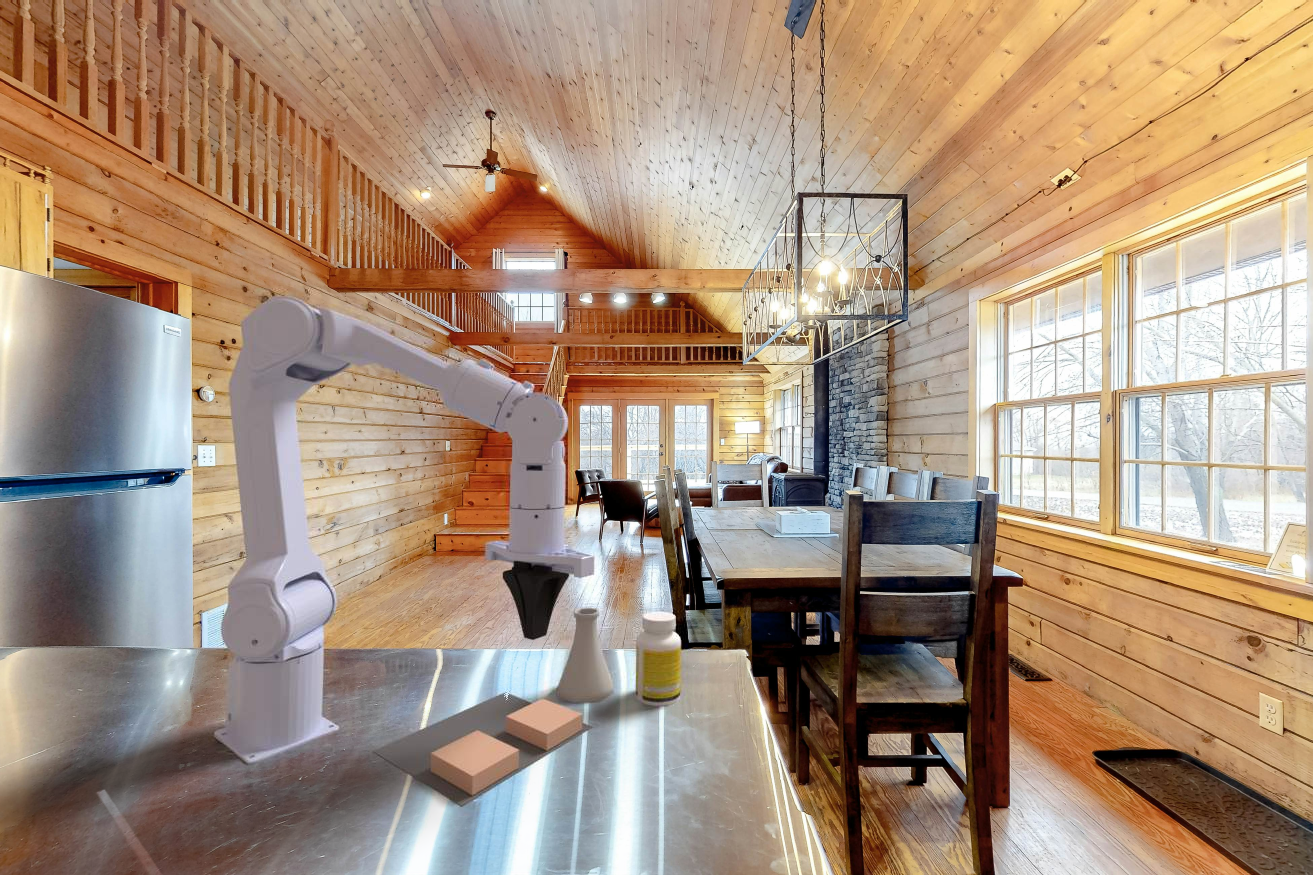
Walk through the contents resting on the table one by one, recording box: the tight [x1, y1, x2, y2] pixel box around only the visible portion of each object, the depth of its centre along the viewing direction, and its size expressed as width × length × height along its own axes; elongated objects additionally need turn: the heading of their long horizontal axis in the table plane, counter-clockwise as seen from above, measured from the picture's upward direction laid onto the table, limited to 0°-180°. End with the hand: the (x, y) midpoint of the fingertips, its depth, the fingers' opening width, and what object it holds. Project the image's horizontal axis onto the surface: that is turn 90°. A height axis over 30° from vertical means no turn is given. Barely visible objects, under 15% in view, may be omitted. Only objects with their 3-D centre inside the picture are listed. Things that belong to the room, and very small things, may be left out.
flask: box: [556, 606, 615, 704], centre depth 67 cm, size 7×7×10 cm
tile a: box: [431, 730, 519, 795], centre depth 50 cm, size 2×5×6 cm
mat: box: [372, 691, 594, 807], centre depth 55 cm, size 14×16×1 cm
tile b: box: [506, 698, 584, 751], centre depth 57 cm, size 2×5×6 cm
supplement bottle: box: [635, 611, 682, 707], centre depth 66 cm, size 5×5×10 cm
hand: (535, 636), depth 58 cm, fingers closed
